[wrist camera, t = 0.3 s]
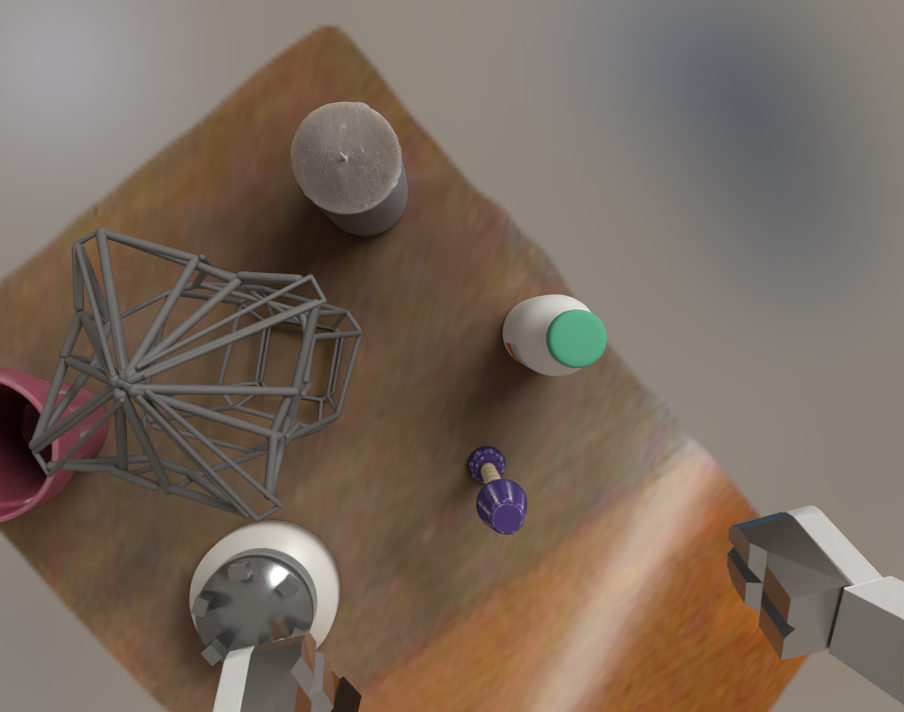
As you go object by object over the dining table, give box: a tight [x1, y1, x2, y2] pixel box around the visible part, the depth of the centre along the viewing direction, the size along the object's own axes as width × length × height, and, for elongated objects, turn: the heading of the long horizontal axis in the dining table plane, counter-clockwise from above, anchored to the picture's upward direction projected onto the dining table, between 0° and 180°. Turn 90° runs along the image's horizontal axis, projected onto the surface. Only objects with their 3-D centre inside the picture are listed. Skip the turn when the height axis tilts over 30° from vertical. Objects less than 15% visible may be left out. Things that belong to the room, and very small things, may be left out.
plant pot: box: [0, 368, 108, 523], centre depth 57 cm, size 14×14×13 cm
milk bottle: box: [503, 295, 607, 376], centre depth 54 cm, size 8×8×20 cm
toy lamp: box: [468, 446, 527, 534], centre depth 56 cm, size 5×5×17 cm
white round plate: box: [189, 520, 341, 649], centre depth 64 cm, size 16×16×3 cm
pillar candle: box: [290, 102, 408, 237], centre depth 55 cm, size 10×10×15 cm
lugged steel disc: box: [191, 548, 361, 712], centre depth 59 cm, size 21×12×7 cm, turn 41°
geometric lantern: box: [29, 227, 363, 522], centre depth 46 cm, size 16×16×35 cm
